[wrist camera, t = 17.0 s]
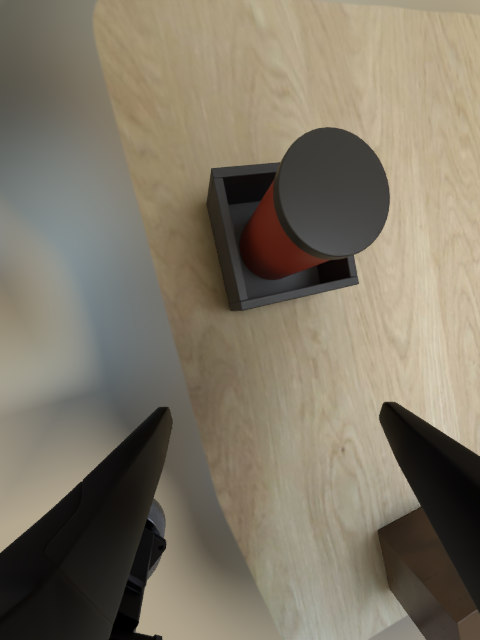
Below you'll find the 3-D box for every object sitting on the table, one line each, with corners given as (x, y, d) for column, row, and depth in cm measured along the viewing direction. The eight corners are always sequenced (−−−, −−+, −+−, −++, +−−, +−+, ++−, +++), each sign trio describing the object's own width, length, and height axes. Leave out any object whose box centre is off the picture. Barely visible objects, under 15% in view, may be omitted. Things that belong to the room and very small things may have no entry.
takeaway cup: (314, 259, 23) (409, 218, 13) (262, 295, 21) (320, 280, 12) (280, 199, 22) (354, 105, 12) (223, 233, 20) (252, 161, 11)
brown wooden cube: (389, 589, 27) (472, 703, 19) (377, 530, 26) (457, 623, 18) (440, 558, 28) (535, 652, 20) (429, 502, 28) (523, 576, 20)
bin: (323, 290, 24) (359, 284, 19) (230, 311, 21) (242, 310, 16) (305, 191, 23) (337, 156, 18) (206, 202, 21) (211, 167, 16)
